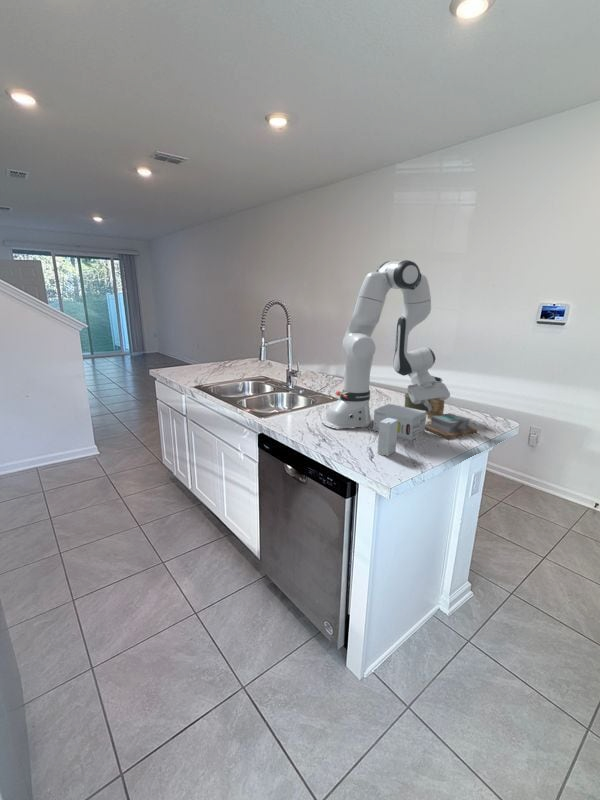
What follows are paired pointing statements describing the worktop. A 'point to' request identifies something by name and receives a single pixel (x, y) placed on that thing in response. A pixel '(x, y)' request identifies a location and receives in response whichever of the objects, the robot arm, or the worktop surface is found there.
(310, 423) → the worktop surface
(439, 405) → the oak pillar
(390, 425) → the skincare box
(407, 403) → the can
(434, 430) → the build base
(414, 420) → the supplement box
